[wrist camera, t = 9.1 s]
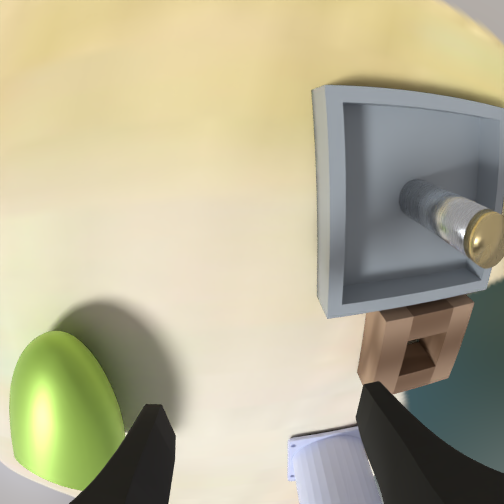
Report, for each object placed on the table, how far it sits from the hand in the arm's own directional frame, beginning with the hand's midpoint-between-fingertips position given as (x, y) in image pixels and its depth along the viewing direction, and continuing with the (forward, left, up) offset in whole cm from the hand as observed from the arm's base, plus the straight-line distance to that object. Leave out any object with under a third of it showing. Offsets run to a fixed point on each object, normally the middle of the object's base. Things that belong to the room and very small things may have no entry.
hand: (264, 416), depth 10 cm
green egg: (-10, +17, -10) cm, 22 cm away
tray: (+5, -10, -9) cm, 15 cm away
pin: (+5, -10, -9) cm, 14 cm away
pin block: (-5, -11, -9) cm, 15 cm away
